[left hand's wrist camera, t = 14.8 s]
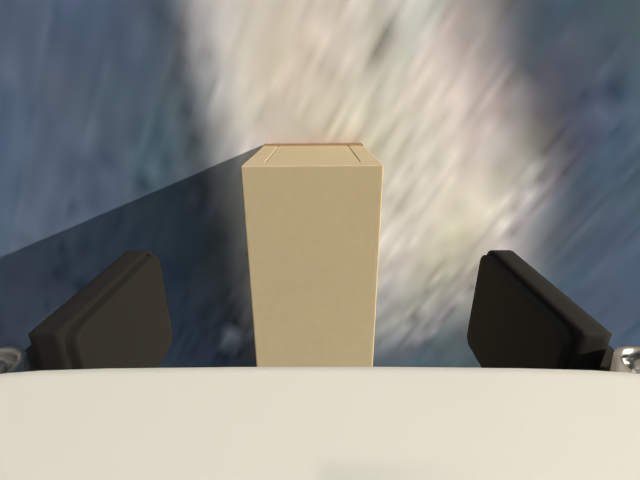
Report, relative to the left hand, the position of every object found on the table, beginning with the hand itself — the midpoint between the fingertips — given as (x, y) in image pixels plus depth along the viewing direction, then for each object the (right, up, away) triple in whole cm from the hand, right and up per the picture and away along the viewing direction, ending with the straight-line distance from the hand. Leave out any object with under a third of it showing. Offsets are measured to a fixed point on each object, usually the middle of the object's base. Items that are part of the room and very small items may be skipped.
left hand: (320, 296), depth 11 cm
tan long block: (0, -3, +15) cm, 15 cm away
